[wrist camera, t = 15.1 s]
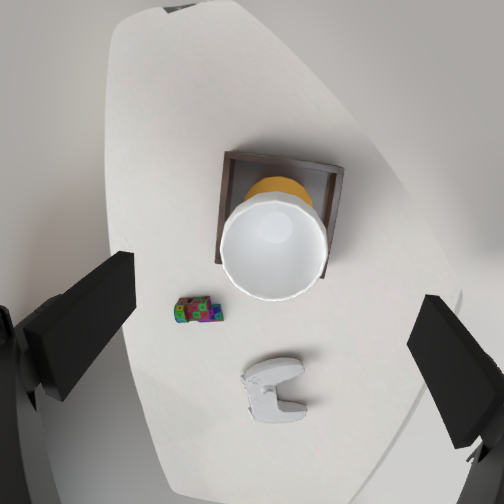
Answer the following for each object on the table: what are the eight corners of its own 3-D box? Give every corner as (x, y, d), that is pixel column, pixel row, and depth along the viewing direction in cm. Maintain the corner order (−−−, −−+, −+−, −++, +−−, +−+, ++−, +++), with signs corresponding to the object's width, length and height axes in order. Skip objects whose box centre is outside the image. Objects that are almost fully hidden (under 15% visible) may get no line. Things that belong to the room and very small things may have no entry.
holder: (230, 151, 38) (224, 151, 34) (338, 165, 37) (344, 168, 33) (220, 252, 42) (214, 263, 38) (320, 267, 41) (324, 279, 38)
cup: (241, 243, 41) (215, 301, 26) (242, 174, 38) (215, 192, 23) (310, 247, 40) (325, 308, 25) (316, 178, 37) (338, 198, 22)
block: (186, 321, 46) (179, 334, 43) (179, 298, 45) (172, 309, 42) (223, 319, 46) (219, 332, 42) (218, 295, 44) (213, 306, 41)
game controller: (309, 423, 48) (253, 435, 47) (304, 406, 52) (250, 417, 51) (306, 362, 43) (238, 376, 42) (298, 346, 47) (236, 358, 47)
